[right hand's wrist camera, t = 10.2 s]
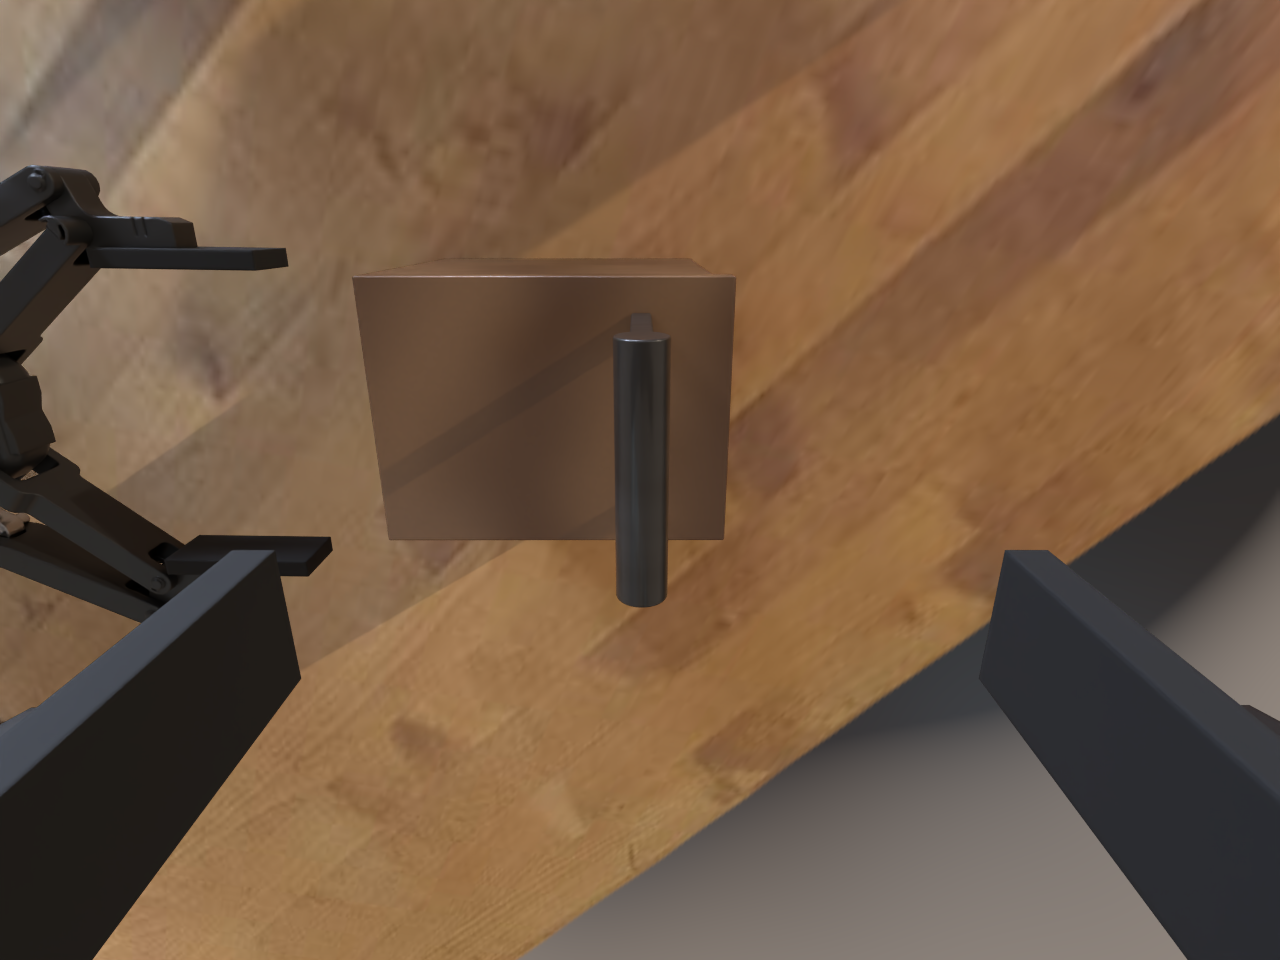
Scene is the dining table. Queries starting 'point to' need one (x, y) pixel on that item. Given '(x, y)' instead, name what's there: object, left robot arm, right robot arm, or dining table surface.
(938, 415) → the dining table surface
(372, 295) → the lid
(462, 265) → the chest
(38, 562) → the left robot arm
